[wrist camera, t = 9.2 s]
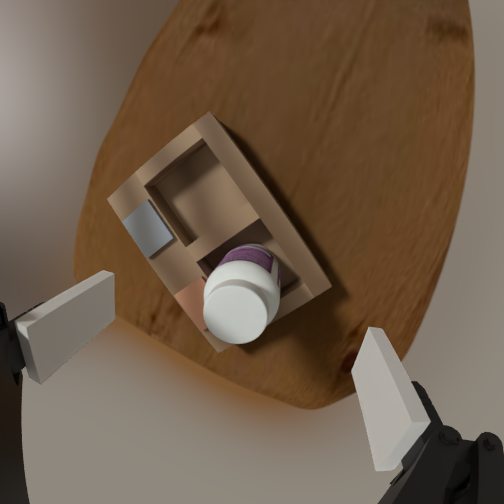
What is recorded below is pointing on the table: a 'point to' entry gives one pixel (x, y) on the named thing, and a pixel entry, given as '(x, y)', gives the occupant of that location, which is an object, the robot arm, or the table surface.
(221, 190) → the socket block
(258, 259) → the pill bottle
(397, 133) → the table surface
